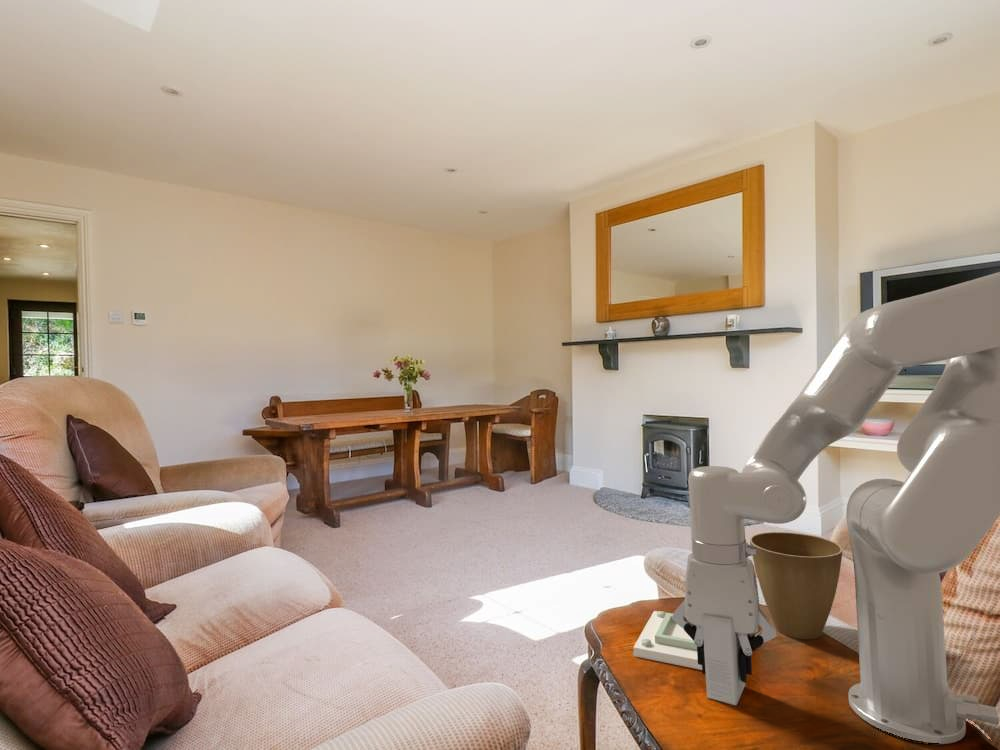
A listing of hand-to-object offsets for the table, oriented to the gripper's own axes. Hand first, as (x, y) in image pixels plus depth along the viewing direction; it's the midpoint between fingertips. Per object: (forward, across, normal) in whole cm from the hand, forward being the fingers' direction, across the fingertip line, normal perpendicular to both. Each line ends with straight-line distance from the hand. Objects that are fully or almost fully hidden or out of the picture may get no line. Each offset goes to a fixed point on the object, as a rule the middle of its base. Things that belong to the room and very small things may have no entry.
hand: (724, 672), depth 79 cm
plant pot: (+3, -10, -26) cm, 28 cm away
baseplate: (+3, +7, -13) cm, 15 cm away
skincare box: (+3, 0, 0) cm, 3 cm away
